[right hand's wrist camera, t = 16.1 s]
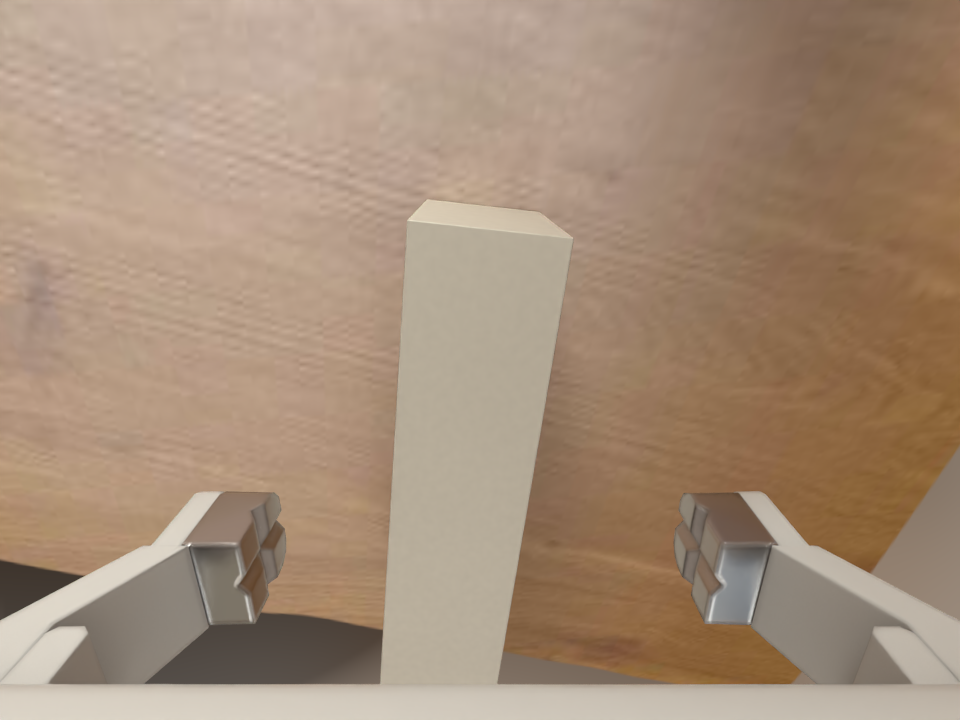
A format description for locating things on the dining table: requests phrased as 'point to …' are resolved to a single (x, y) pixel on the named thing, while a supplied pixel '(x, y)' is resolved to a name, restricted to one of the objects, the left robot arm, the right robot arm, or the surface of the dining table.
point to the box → (466, 432)
